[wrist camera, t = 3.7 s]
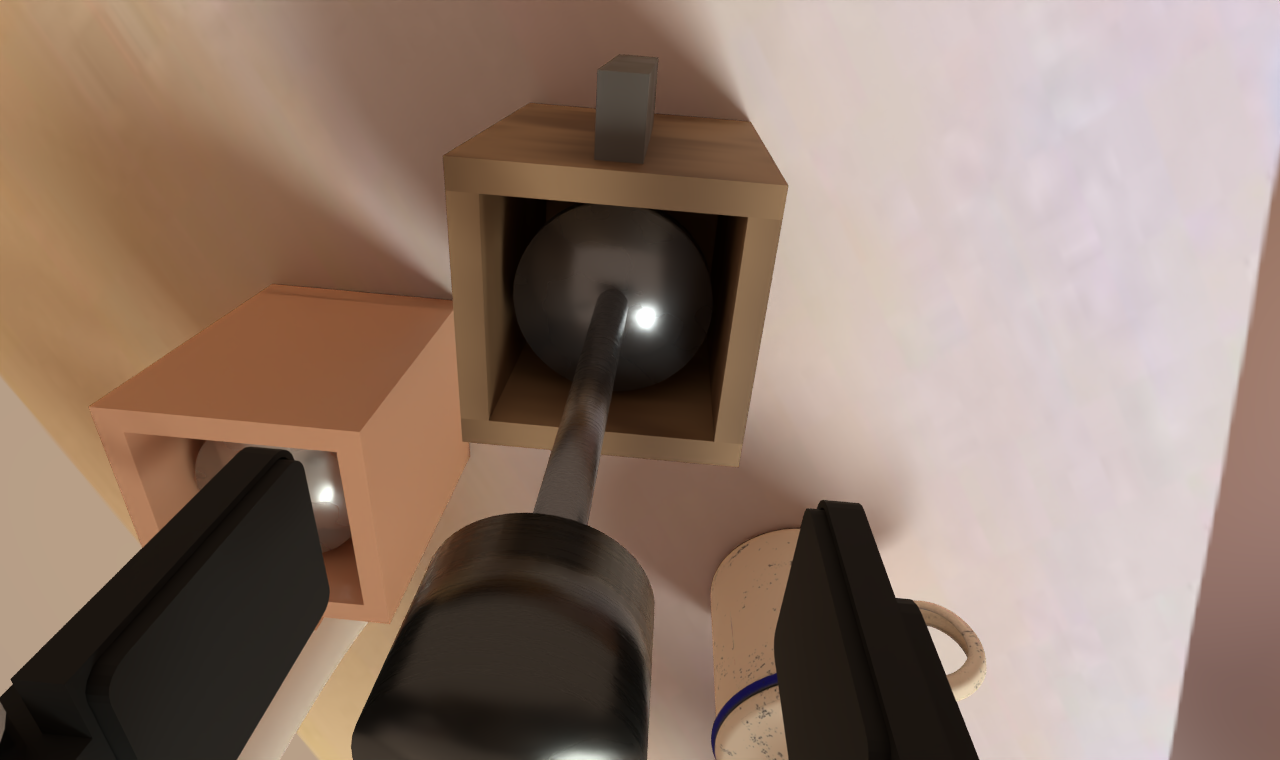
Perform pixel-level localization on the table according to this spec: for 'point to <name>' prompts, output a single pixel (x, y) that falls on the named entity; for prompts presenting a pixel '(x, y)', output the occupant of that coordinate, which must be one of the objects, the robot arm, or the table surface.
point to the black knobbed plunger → (319, 478)
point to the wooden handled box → (622, 176)
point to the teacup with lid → (746, 648)
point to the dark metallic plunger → (552, 527)
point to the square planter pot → (308, 422)
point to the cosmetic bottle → (301, 688)
